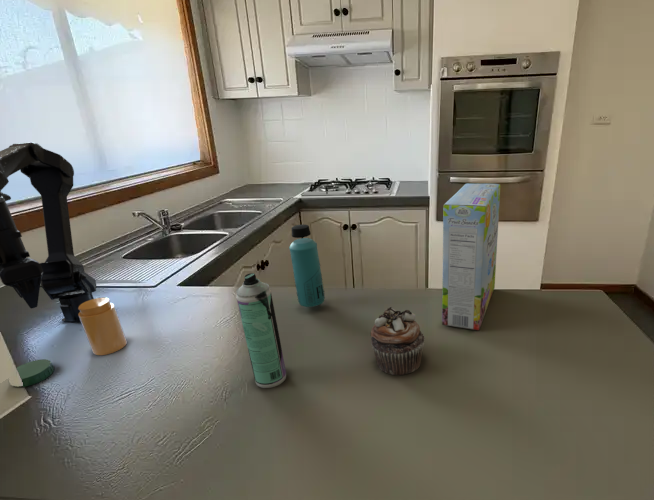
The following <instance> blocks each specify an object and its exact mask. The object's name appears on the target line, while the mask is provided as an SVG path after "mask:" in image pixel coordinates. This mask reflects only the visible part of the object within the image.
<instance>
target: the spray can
mask: <svg viewBox="0 0 654 500" xmlns="http://www.w3.org/2000/svg"><path fill="white" fill-rule="evenodd" d="M235 293H236V295H235V297H236V301H237V306H238V310H239V311H238V312H239V315H240V319H241V320H240V321H241V324H242V329H243V333H244V338H245V342H246V346H247V350H248V356H249V360H250V365H251V369H252V373H253V377H254V382H255V384H256V386H257V387H259V388H262V389H270V388H275V387H277V386H280V385H281V384H282V383H284V381H285V380H286V379H287V370H286V365H285V359H284V353H283V349H282V343H281V338H280V333H279V328H278V321H277V317H276V311H275V306H274V300H273V295H272V291H271V288H270V285H269V283H267V282H262V281H261V279H259V278H257V275H256V273H255V272H250V273H247V274H245V276H244V280H243V282H242V285H241V286H240V287H238V288H237V289H236V291H235Z"/></svg>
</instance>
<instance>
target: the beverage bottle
mask: <svg viewBox="0 0 654 500" xmlns="http://www.w3.org/2000/svg"><path fill="white" fill-rule="evenodd" d="M309 236H311V229H310V226H309V224H304V223H303V224H296V225H293V226H292V227H291V237H292V238H294V240H293V241H292V242H291V244H290V245H289V247H288V249H289V252H290V258H291V265H292V271H293V279H294V285H295V291H296V293H295V294H296V297H297V301H298V304H299V305H300V306H301V307H305V308H312V307H317V306H319V305H322V304H323V303H324V302H325V299H326V296H325V295H326V293H325V289H324V283H323V277H322V276H323V275H322V270H321V263H320V262H321V261H320V256H319V249H318V243H317V242H316V240H314V239H312V238H309Z"/></svg>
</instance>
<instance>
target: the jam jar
mask: <svg viewBox="0 0 654 500" xmlns="http://www.w3.org/2000/svg"><path fill="white" fill-rule="evenodd" d="M78 309H79V310H80V312H79V314H78V315H79V318H80V321H81V322H80V323H81V325H82V328H83V331H84V334H85V336H86V338H87V340H88V341H87V342H88V343H89V346H90V349H91V350H92V354H93V355H95V356H106V355H110V354H114V353H116V352H118V351H121V350H122V349H123V348H125V347H126V345H127V344H128V341H127V338H126V335H125V332H124V329H123V326H122V324H121V320H120V317H119V315H118V313H117V312H118V311H117V310H116V307H115V304H114V303H112V302H111V300H110V298H109V297H104V296H103V297H95V298H94V299H92V300H89V301H86V302H84V303H82V304H81V305H80V306H79V308H78Z"/></svg>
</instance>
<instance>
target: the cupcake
mask: <svg viewBox="0 0 654 500" xmlns="http://www.w3.org/2000/svg"><path fill="white" fill-rule="evenodd" d="M415 319H416V314H415V313H414V312H411V310H409V309H405V310H403V311H402V310H396V309H394V308H392V306H390V307H387V308H386V309H385V310H384V312H383V314H380V315H379V316H378V317H377V318H376V319H375V320H374V325H373V326H372V327H371V330H370V331H371V332H370V344H371V348H372V351H373V354H374V357H375V361H376V364H377V366H378V367H377V368H379V369H380V370H381V371H382V372H383V373H385V374H389V375H392V376H405V375H409V374H412V373H414V372H415V371H417V370H418V369H419V367H420V366H421V364H422V363H421V361H422V357H423V356H422V355H423V350H424V346H425V341H426V340H425V335H424V333H422V330H420V325H419V323H418V322H417V321H416V320H415Z"/></svg>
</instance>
